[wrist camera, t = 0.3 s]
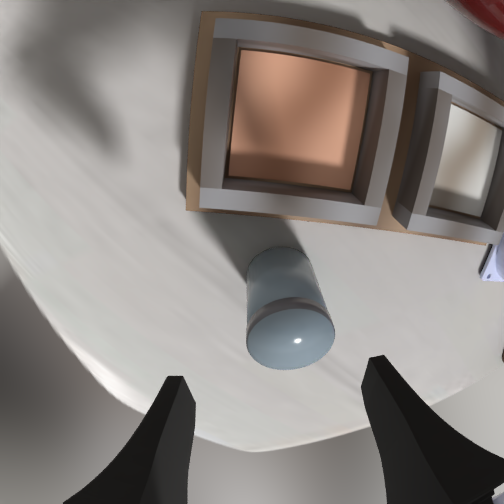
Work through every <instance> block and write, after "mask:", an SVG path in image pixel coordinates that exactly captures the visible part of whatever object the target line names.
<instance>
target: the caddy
mask: <svg viewBox="0 0 504 504" xmlns="http://www.w3.org/2000/svg"><path fill="white" fill-rule="evenodd" d="M186 211H201V212H214V213H226V214H238V215H250V216H261V217H272V218H282V219H292V220H302V221H311V222H320V223H329V224H338V225H346V226H355V227H363V228H371V229H379V230H386V231H394V232H401V233H408V234H415V235H422V236H429V237H436V238H442V239H449V240H455V241H461V242H467V243H473V244H479V245H485V246H486V244H487V243H489V244H494V245H499V243H500V240H501V238H502V235H503V232H504V101H502V100H501V99H499V98H498V97H496V96H494V95H493V94H491V93H490V92H488V91H487V90H485V89H483V88H482V87H480V86H478V85H477V84H475V83H473V82H471V81H470V80H468V79H466V78H464V77H462V76H461V75H459V74H457V73H455V72H453V71H451V70H449V69H447V68H445V67H443V66H441V65H439V64H437V63H435V62H433V61H430V60H428V59H426V58H424V57H421V56H419V55H417V54H414V53H412V52H410V51H407V50H405V49H402V48H399V47H397V46H394V45H391V44H389V43H386V42H383V41H380V40H377V39H374V38H371V37H368V36H364V35H361V34H358V33H354V32H351V31H347V30H343V29H340V28H336V27H331V26H327V25H323V24H318V23H313V22H308V21H303V20H298V19H292V18H285V17H278V16H271V15H262V14H252V13H239V12H219V11H202V13H201V20H200V27H199V34H198V42H197V50H196V59H195V68H194V78H193V88H192V99H191V112H190V125H189V141H188V160H187V186H186Z"/></svg>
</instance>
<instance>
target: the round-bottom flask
mask: <svg viewBox="0 0 504 504" xmlns="http://www.w3.org/2000/svg"><path fill="white" fill-rule="evenodd" d="M445 1H446V2H447V3H448V4H449V5H451V6H452V7H453V8H454V9H455V10H457V11H458V12H459V13H460V14H462V15H463V16H464V17H466V18H467V19H469V20H470V21H471V22H473V23H474V24H476V25H477V26H479V27H481V28H482V29H484V30H486V31H487V32H489V33H491V34H493V35H494V36H496V37H498V38H500V39H502V40H504V0H445Z"/></svg>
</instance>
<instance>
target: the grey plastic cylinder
mask: <svg viewBox="0 0 504 504" xmlns="http://www.w3.org/2000/svg"><path fill="white" fill-rule="evenodd" d="M334 339H335V329H334V325H333V322H332V319H331V316H330V314H329V312H328V311H327V308H326V305H325V302H324V299H323V296H322V293H321V290H320V287H319V284H318V282H317V279H316V276H315V273H314V270H313V268H312V265H311V263H310V261H309V259H308V258H307V257H306V256H305V255H304V254H303V253H301V252H300V251H298V250H296V249H293V248H288V247H276V248H271V249H268V250H266V251H264V252H262V253H260V254H259V255H258V256H256V257H255V258H254V259H253V261H252V262H251V263H250V265H249V267H248V270H247V329H246V344H247V349H248V352H249V353H250V355H251V356H252V357H253V359H254V360H256V361H257V362H258V363H260V364H261V365H263V366H266V367H269V368H272V369H278V370H291V369H298V368H302V367H305V366H308V365H310V364H312V363H314V362H316V361H318V360H319V359H321V358H322V357H323V356H324V355H325V354H326V353H327V352H328V351H329V350H330V348H331V346H332V344H333V342H334Z"/></svg>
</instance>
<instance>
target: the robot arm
mask: <svg viewBox="0 0 504 504" xmlns="http://www.w3.org/2000/svg"><path fill="white" fill-rule="evenodd" d="M480 278H481V279H482V280H483V281H501V282H504V232H503V235H502V238H501V240H500V243H499V245H494V244H493V246H492V249H491V251H490V253H489V256H488V258H487V261H486V263H485V265H484V267H483V270H482V272H481V274H480ZM361 390H362V395H363V400H364V405H365V409H366V412H367V415H368V418H369V422H370V425H371V428H372V431H373V434H374V437H375V440H376V443H377V446H378V449H379V453H380V457H381V461H382V467H383V473H384V479H385V487H386V495H387V504H504V492H503V493H501V494H499V495H497V496H495V497H493V498H492V496H493V495H494V489H495V488H496V487H498V486H500V485H501V484H502V483H504V458H502V457H499V456H497V455H495V454H493V453H491V452H489V451H487V450H485V449H483V448H482V447H480V446H478V445H477V444H475V443H473V442H472V441H470V440H469V439H467V438H466V437H464V436H463V435H462V434H460V433H459V432H457V431H456V430H454V428H452V427H451V426H450V425H448V424H447V423H446V422H445V421H444V420H443V419H442V418H440V417H439V416H438V415H437V414H436V413H435V412H434V411H433V410H432V409H431V408H430V407H429V406H428V405H427V404H426V403H425V402H424V401H423V400H422V399H421V398H420V397H419V396H418V395H417V393H416V392H415V391H414V390H413V389H412V388H411V387H410V386H409V385H408V383H407V382H406V381H405V380H404V379H403V377H402V376H401V375H400V374H399V373H398V371H397V370H396V369H395V368H394V367H393V365H392V364H391V363H390V362H389V360H388V359H387V358H386V357H385V356H384V355H381V356H376V357H371V358H369V361H368V365H367V368H366V372H365V375H364V378H363V382H362V385H361ZM195 413H196V402H195V400H194V398H193V396H192V394H191V392H190V390H189V388H188V386H187V383H186V381H185V379H184V377H183V376H168V377H167V378H166V380H165V382H164V384H163V385H162V387H161V389H160V391H159V393H158V395H157V397H156V398H155V400H154V402H153V404H152V405H151V407H150V409H149V410H148V412H147V414H146V415H145V417H144V419H143V420H142V422H141V423H140V425H139V426H138V428H137V429H136V431H135V432H134V434H133V435H132V437H131V438H130V439H129V441H128V442H127V444H126V445H125V446H124V447H123V449H122V450H121V451H120V452H119V454H118V455H117V456H116V457H115V458H114V460H113V461H112V462H111V463H110V464H109V465H108V466H107V467H106V468H105V469H104V470H103V471H102V472H101V473H100V474H99V475H98V476H97V477H96V478H95V479H93V480H92V481H91V482H90V483H89V484H88V485H86V486H85V487H84V488H83V489H82V490H80V491H79V492H77V493H76V494H75V495H73V496H72V497H70V498H69V499H68V500H66V501H65V502H63V504H187V484H188V483H187V482H188V469H189V463H190V456H191V449H192V443H193V436H194V429H195Z"/></svg>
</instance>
